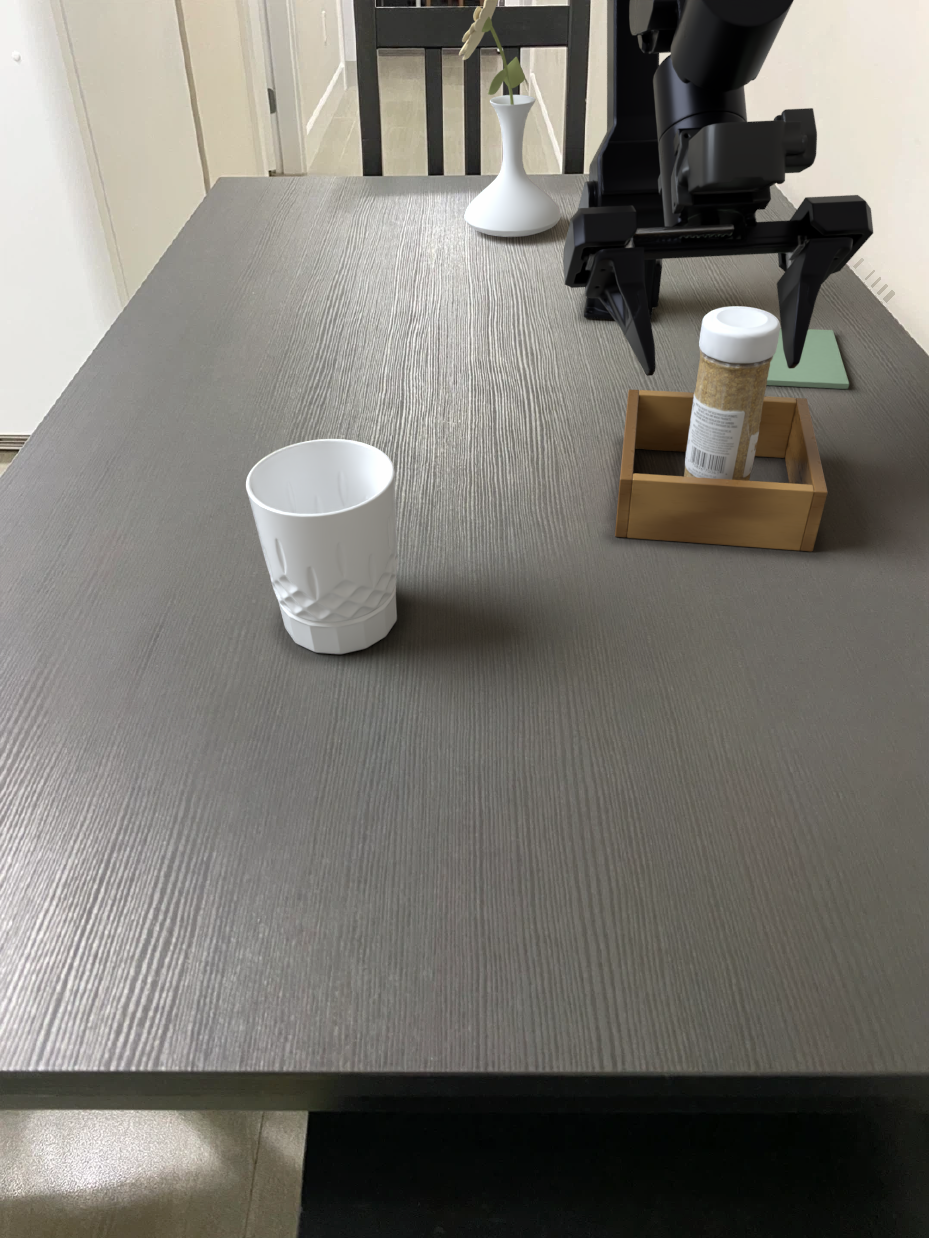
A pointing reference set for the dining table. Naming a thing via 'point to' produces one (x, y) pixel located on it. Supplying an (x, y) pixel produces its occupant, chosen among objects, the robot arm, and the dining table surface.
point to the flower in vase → (508, 153)
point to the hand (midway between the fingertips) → (722, 369)
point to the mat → (810, 364)
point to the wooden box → (721, 480)
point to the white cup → (329, 541)
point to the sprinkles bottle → (730, 391)
